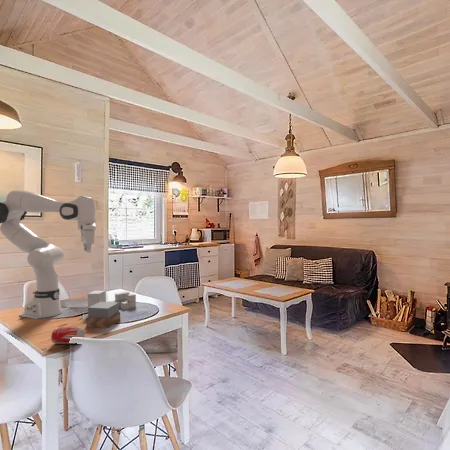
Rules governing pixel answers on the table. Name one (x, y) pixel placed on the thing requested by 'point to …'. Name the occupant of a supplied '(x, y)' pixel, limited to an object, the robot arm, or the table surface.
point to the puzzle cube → (125, 300)
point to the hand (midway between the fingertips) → (87, 251)
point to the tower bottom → (102, 321)
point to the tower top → (103, 309)
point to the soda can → (66, 334)
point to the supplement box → (96, 297)
